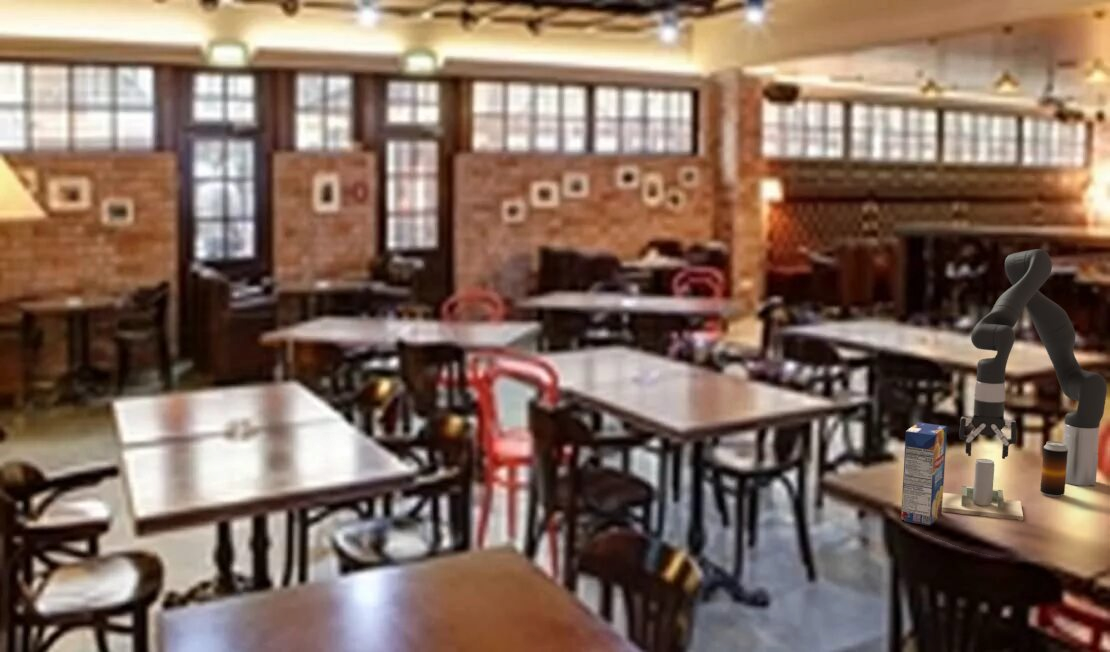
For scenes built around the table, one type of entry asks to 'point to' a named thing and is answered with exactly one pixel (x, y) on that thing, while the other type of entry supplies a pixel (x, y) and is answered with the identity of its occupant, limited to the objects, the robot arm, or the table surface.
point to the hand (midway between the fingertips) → (986, 456)
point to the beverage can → (1054, 469)
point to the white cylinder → (983, 482)
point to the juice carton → (923, 473)
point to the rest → (996, 509)
